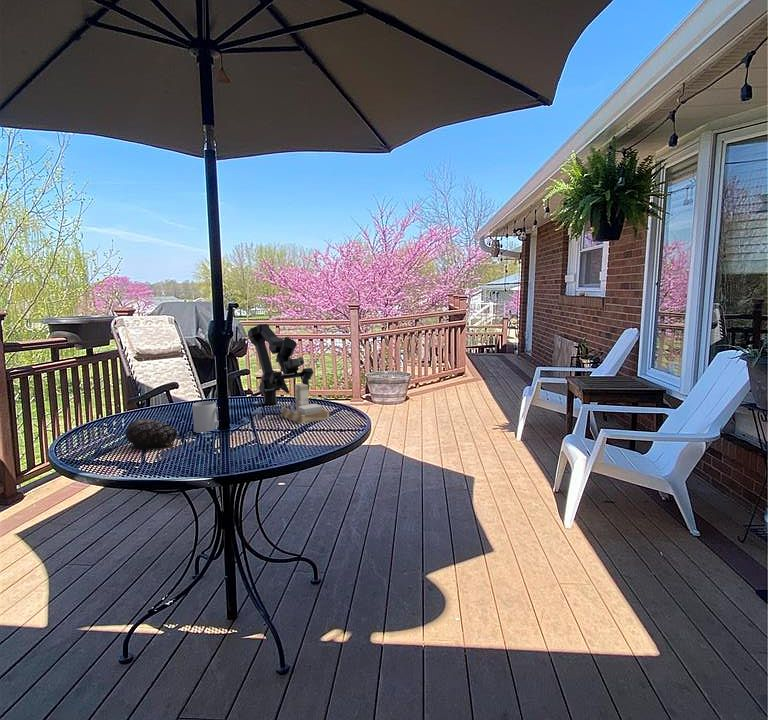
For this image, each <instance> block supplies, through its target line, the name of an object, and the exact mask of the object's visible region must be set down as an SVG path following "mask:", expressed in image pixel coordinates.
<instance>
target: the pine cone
mask: <svg viewBox="0 0 768 720" xmlns="http://www.w3.org/2000/svg"><path fill="white" fill-rule="evenodd" d="M178 434H179V433H178V429H177V428H175V427H173V426H172V425H170V424H169V423H167V422H165V423H164V422H161V421H159V420H155V419H152V418H151V419H150V418H149V419H148V418H145V417H143V418H137V419H135V420H134V421H132V422H130V424H129V425H128V426H127V428H126V431H125V435H126V436H125V438H126V439H127V441H128V442H129V443H131V444H132V445H131V446H130V449H134V450H154V449H155V450H161V449H162V450H163V449H165V450H167V449H174V448H175V444H174V442H175V440H176V438H177V437H178ZM173 444H174V445H173ZM173 446H174V447H173Z"/></svg>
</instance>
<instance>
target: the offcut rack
mask: <svg viewBox="0 0 768 720" xmlns="http://www.w3.org/2000/svg"><path fill="white" fill-rule="evenodd" d="M310 404H311V403H309V405H310ZM280 410H281V413H280V414H279V415H280V416H281V417H284V418H287V419H289V420H291V421H293V422H296V423H298V424H300V425H302V424H306V423H312V422H318V421H322V420H328V419H331V418H332V417H331V416H330V410H328V409H325V408H322V412H317V413H312V414H306V415H303V414H300V413H298V412H296V410H292V409H290V408H289V407H288V408H287V407H285V406H281V409H280Z"/></svg>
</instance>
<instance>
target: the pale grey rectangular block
mask: <svg viewBox="0 0 768 720" xmlns="http://www.w3.org/2000/svg"><path fill="white" fill-rule="evenodd" d="M294 391H295V393H294V394H295V396H294V397H295V411H296V412H298V407H299V406H305V405H309V404H310V403H309V402H310V401H309V400H310V399H309V390H308V385H306V384H303V383H298V384H297V383H296V384H294Z"/></svg>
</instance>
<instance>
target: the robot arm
mask: <svg viewBox="0 0 768 720" xmlns="http://www.w3.org/2000/svg"><path fill="white" fill-rule="evenodd" d="M247 337H248V339H249V341H250V343H251V344H252V345H253V346H254V347H255V350H256V353H257V357H258V360H259V365H260V367H261V371H262V375H261V378H260V384H259V386H258V390H259V393H262V394H263V401H264V402H263V403H265V404H276V405H278V403H279V400H277V391H278V392H279V391H281V390H283V391H284V392H285V393H286V394H290V389H289V388H288V385H287V383H286V381H285V380H286V379H296V378H300V380H301V384H306V385H308V391H309V390H310V380H311V379H312V377H313V374H314V370H313V368H312V367H307V368H306V367H305V368H302V370H301V372H298V371H299V370H300V368H299V367H301V366H303V365H304V364H305V361H304V358H303V357H302V356H300V357H297V358H292V356H293V354H294V352H295V351H296V347H297V342H296V341H295V340H294V339H292V338H290V337H289V336H285V337H284V338H281V337H279V336H277V335H276V333H275V332H274V331H273V330H272V329H271V328H270V325H269V324H267V323H260V324H258V325H256V326H253V327H251V328H249V330H247ZM266 342H267V343H268V345H269V346H268V349H269V351H270V352H271V354H272V355H275V354H276V357H275V358H276V359H275V362H276V363H278V365H279V366H280V370H279V371H278V370H274V369H273V366H272V363H271V360H270V355H269V353H268V349H267V346H266ZM277 402H278V403H277Z"/></svg>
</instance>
